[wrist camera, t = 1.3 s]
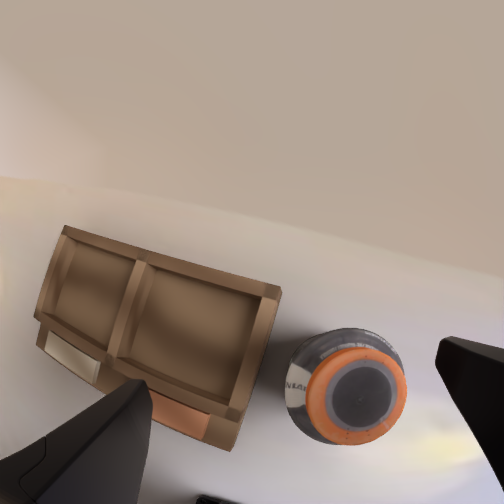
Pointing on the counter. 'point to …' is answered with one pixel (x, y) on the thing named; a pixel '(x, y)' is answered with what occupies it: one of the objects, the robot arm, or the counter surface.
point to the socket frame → (157, 330)
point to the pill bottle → (345, 387)
